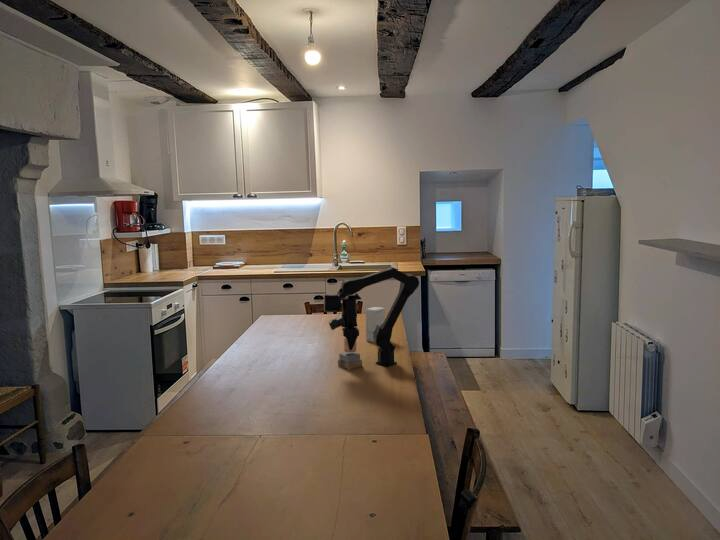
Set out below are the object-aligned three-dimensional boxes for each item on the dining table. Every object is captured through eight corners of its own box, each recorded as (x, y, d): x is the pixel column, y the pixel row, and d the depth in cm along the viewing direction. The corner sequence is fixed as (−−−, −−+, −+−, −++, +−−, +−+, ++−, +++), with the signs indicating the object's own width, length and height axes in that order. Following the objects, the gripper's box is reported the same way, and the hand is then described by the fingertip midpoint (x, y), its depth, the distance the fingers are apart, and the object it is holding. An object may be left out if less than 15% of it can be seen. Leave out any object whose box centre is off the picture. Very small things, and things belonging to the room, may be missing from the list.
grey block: (360, 360, 220) (359, 354, 219) (348, 362, 216) (347, 356, 216) (351, 356, 224) (351, 351, 224) (339, 359, 221) (339, 353, 221)
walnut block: (362, 366, 220) (362, 359, 220) (349, 370, 216) (348, 363, 216) (351, 363, 226) (350, 356, 225) (338, 366, 221) (337, 359, 221)
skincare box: (376, 343, 254) (375, 310, 252) (364, 341, 258) (364, 309, 256) (386, 339, 261) (385, 307, 259) (375, 337, 265) (374, 306, 263)
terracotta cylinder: (359, 350, 220) (358, 338, 219) (349, 353, 216) (349, 340, 216) (351, 348, 223) (350, 336, 223) (341, 350, 220) (341, 338, 219)
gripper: (329, 306, 226) (330, 342, 228) (330, 316, 208) (331, 355, 210) (355, 305, 227) (356, 341, 229) (358, 315, 209) (359, 354, 211)
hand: (350, 348), depth 220 cm, fingers closed on terracotta cylinder, 5 cm apart
